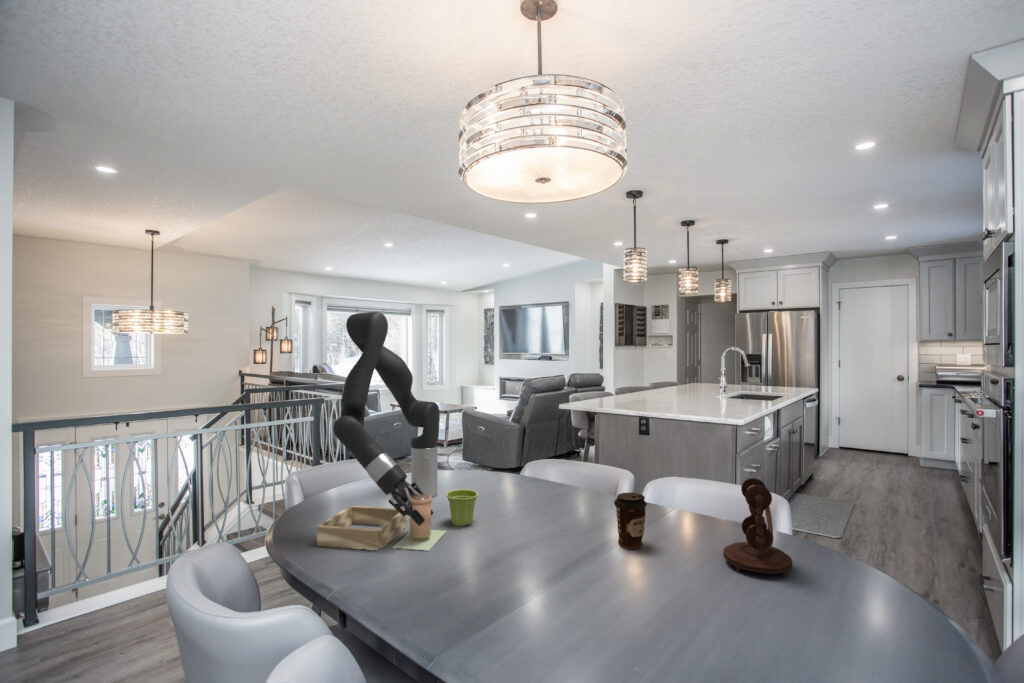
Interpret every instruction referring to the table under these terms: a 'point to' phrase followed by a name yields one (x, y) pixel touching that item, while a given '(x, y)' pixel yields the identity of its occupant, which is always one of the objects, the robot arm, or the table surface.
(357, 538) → the frame
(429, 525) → the seedling pot
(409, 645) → the table surface
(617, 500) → the coffee cup
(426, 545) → the green mat
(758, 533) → the brown wooden stand
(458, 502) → the plant pot
